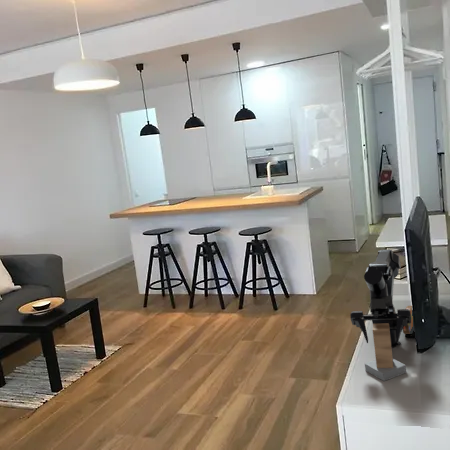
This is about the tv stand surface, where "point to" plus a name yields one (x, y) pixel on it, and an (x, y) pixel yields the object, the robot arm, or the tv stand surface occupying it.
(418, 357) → the tv stand surface
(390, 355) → the walnut block
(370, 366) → the grey block
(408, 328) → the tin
